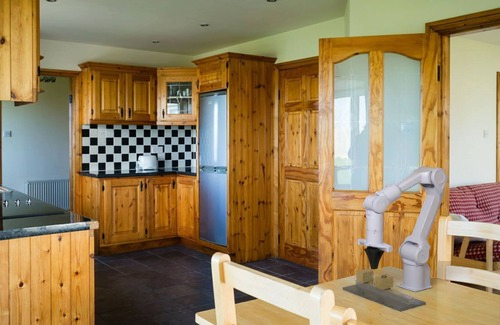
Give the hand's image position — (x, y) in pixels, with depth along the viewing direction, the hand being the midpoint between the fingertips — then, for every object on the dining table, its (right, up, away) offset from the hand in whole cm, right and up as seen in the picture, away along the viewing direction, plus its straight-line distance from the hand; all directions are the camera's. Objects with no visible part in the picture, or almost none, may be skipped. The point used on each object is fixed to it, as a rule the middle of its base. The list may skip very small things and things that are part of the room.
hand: (374, 268), depth 167 cm
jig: (+2, -9, -4) cm, 10 cm away
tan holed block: (+3, -8, -3) cm, 9 cm away
